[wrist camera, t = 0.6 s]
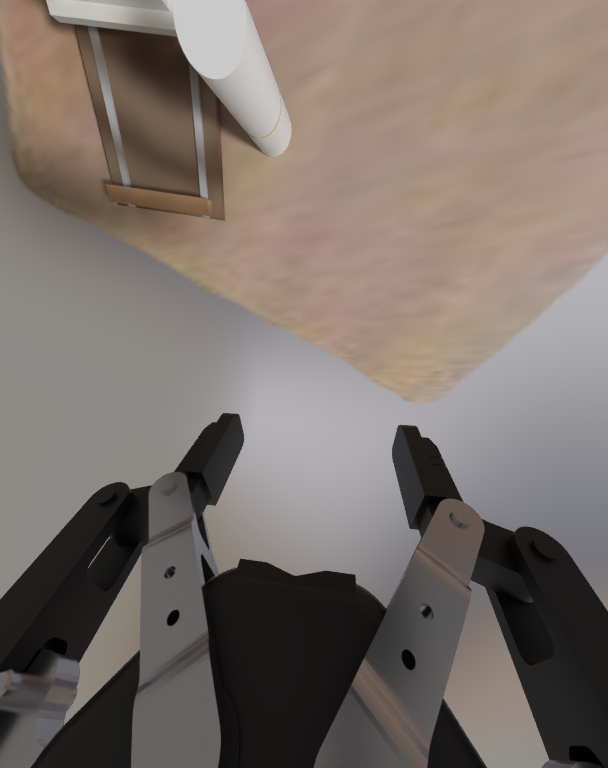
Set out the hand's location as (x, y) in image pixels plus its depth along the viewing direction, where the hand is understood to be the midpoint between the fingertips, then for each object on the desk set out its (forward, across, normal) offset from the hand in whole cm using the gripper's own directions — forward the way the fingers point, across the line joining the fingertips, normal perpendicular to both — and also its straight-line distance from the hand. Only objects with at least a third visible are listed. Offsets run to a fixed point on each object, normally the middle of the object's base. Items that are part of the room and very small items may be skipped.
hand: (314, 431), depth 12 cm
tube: (+28, +7, -18) cm, 34 cm away
